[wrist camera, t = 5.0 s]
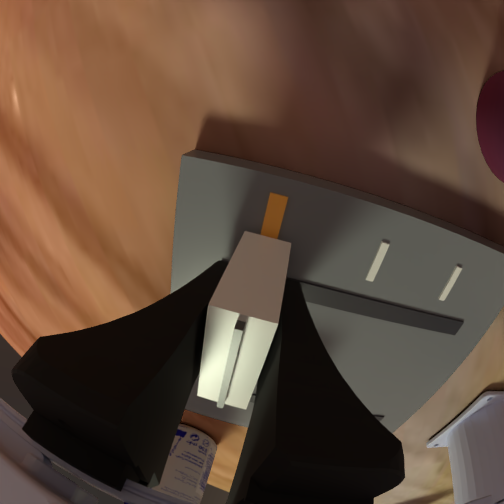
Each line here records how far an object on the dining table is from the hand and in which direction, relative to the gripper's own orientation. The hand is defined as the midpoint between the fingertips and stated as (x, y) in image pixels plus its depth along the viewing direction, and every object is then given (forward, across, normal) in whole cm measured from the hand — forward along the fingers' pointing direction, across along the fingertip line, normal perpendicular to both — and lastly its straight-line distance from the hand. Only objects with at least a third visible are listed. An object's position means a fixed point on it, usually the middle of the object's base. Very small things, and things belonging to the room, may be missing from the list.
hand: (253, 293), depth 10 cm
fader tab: (+1, 0, 0) cm, 1 cm away
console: (+2, -4, +4) cm, 6 cm away
